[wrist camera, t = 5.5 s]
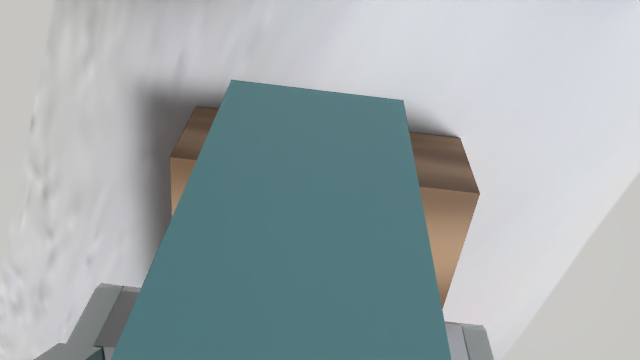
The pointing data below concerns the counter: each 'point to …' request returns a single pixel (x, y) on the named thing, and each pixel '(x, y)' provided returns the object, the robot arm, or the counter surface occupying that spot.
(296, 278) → the teal rectangular block
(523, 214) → the counter surface
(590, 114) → the counter surface
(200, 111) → the wooden holder
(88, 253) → the counter surface
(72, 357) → the robot arm
